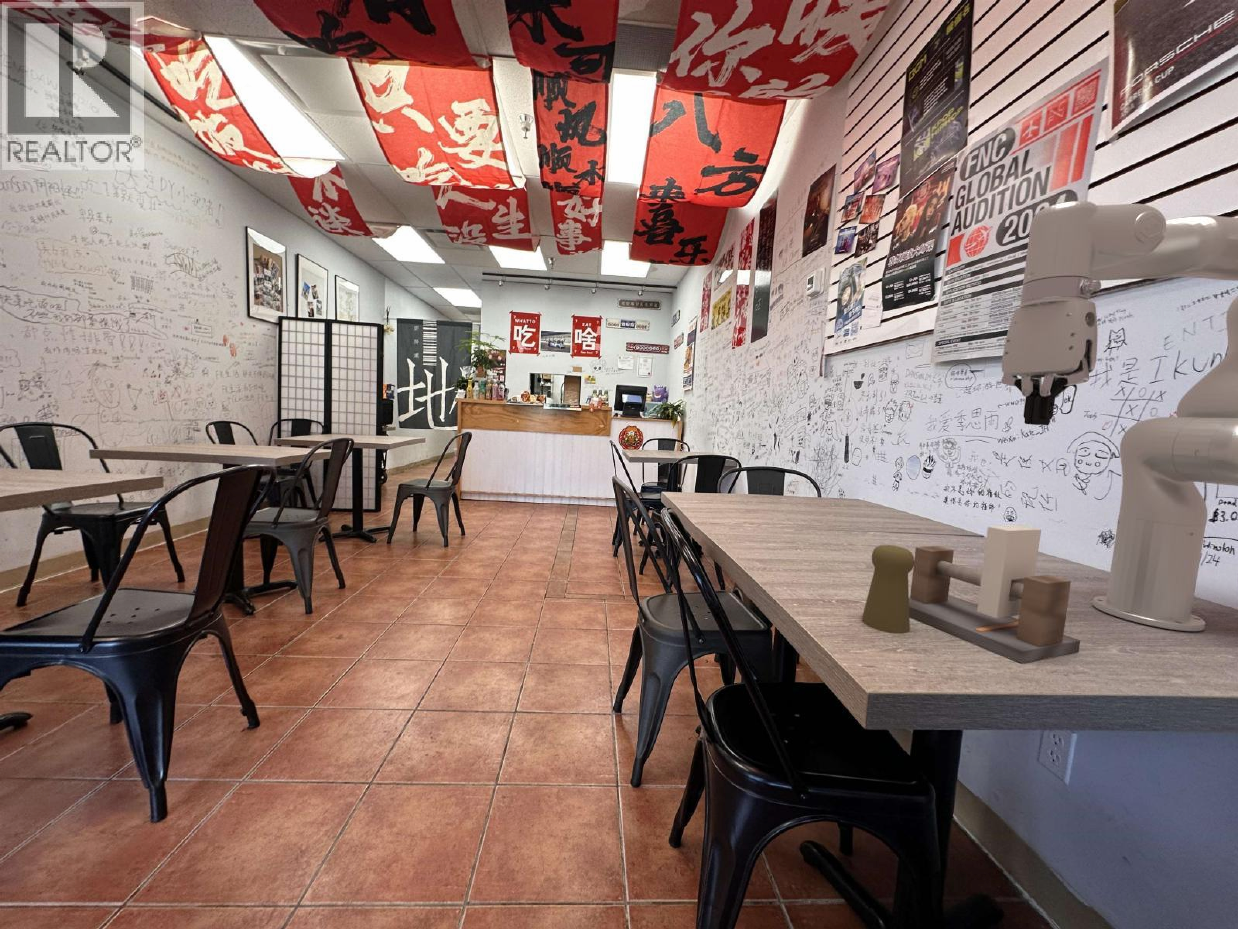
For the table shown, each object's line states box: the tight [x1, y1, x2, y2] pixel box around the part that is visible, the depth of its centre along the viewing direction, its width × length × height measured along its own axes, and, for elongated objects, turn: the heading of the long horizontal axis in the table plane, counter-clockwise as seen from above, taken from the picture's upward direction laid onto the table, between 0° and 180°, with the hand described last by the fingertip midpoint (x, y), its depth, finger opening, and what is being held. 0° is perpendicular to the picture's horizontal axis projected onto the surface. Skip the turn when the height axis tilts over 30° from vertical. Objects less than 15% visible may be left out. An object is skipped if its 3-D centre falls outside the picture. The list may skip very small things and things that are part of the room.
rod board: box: [909, 545, 1081, 664], centre depth 73 cm, size 12×18×10 cm, turn 23°
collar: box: [977, 525, 1042, 618], centre depth 70 cm, size 7×2×12 cm, turn 113°
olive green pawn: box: [861, 544, 915, 634], centre depth 72 cm, size 6×6×11 cm
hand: (1036, 424), depth 77 cm, fingers closed
